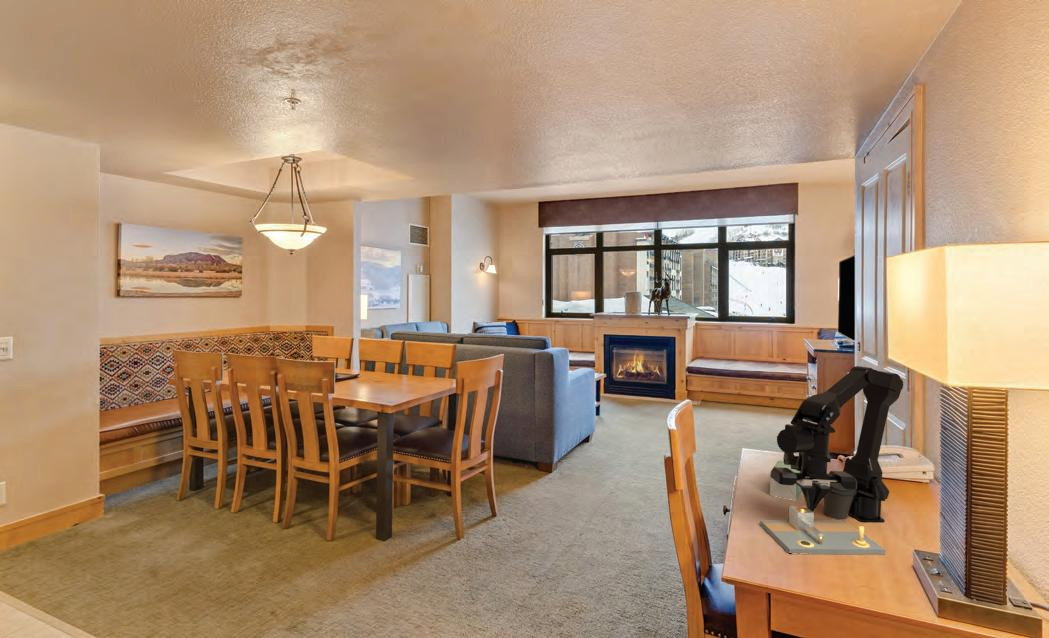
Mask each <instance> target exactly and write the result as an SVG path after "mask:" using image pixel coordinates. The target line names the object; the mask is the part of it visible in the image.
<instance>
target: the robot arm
mask: <svg viewBox="0 0 1049 638" xmlns="http://www.w3.org/2000/svg"><path fill="white" fill-rule="evenodd" d="M903 388H904V381H903V379H902V378H901V376H900V374H898V373H896V372H895V373H894V372H888V371H882V370H876V369H874V368H873V367H868V366H867V367H866V366H862V365H861V366H860V365H856V366H853V367H851V369H850V371H849V372H848V373H847V374H845V375H844V376H843V377H842V378H840V379H839V380H838V381H836V383H834V384H833V385H832V386H830V387H829V388H828V389H826V391H823V392H822V393H817V394H813V395H811V396H809V397H808V398H805V399H804V400H803V401H802V402H801V403H800V406H798V407H799V408H798V409H797V410H796V412H795V414H794V416H793V417H792V419H791V421H790V423H789V424H787V423H786V424H785V425H784V429H782V430H780V431H779V432H778V434H777V436H776V443H777V446H778V447H779V449H780V450H781V451H782V452H783V457H782V458H783V459H782V461H784V464H785V465H791V469H796V470H797V471H800V473H794V472H793V471H791V470H790V469H788V468H781V467H774V466H773V467H774V468H773V467H772V469H771V470H770V472H771V478H772V479H774V480H775V481H776V482H778V483H779V484H782V485H794V484H797V485H798V486H799V487H800V488H801V492H802V494H803V497H804V502H805V506H806V507H807V508H808V509H810V510H811V511H812V512H814V513H815V511H816V510H817V507H818V505H819V504H820V503H821V502H822V501H823V500H824V497H825V495H826V494H827V493H828V492H829V491H833V489H832V488H831V487H830V483H841V486H842V487H843V488H845V489H856V491H857V493H856V495H854V496H853V500H852V503H851V506H850V509H849V513H848V515H851V516H852V517H853V518H855V519H856V520H858V521H859V522H863V523H867V522H869V523H870V522H872V523H876V522H877V523H880V522H881V523H884V522H885V521H886V520H885V519H884V518H883V517H881V516H882V513H881V512H882V502H886V500H887V499H888V497H889V494H890V490H889V488H888V487H887V486H886V485H885V483H884V481H883V480H882V479H883V470H882V467H881V465H880V463H879V456H880V450H881V447H882V441H883V438H884V433H885V428H886V423H887V419H888V414H889V409H890V407H891V406H892V405H893V404H894V403H895V402H896V401H897V400H898V399H899V398H900V396H901V392H902V390H903ZM861 391H862V393H863V395H864V397H865V401H866V406H865V410H864V416H863V421H862V425H861V429H860V434H859V438H858V443H857V447H856V452H855V454H854V455H853V456H852V457H851V458H850V459H849V458H845V459H846V460H844V466H843V469H842V470H840V471H839V470H830V471H829V472H828V463H831V461H832V460H831V457H829V446H830V445H829V444H830V434H834V433H836V429H835V428H834V427H832V425H833V424H834V423H835V422H836V420H837V419H838V418H839V417H840V415H841V408H843V406H844V405H845V404H847V403H848V402H850V400H851V399H852V398H853V397H855V396H857V394H858V393H860V392H861ZM797 453H798V455H795V454H797Z"/></svg>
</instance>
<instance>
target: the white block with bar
mask: <svg viewBox="0 0 1049 638" xmlns="http://www.w3.org/2000/svg"><path fill="white" fill-rule="evenodd" d="M788 511H789V513H788V520H789V524H790V525H791V526H792V527H794V528H795V529H796V530H797V531H812V532H813V533H814V534H815V535H816V536H818V542H820V543H822V539H823V533H822V532H821V531H820V530H818V529H817V528H816V527H815V526H813V524H814V521H815V520H814V519H815V516H814V515H815V511H814V512H812V511H811V510H810V509H808V508H807V505H789V508H788Z"/></svg>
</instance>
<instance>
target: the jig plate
mask: <svg viewBox="0 0 1049 638" xmlns="http://www.w3.org/2000/svg"><path fill="white" fill-rule="evenodd" d="M759 525H760V527H761V528H763V530H765V532H766V533H767V534H768V535H770V537H772V539H773V540H775V541H776V543H778V545H780V546H781V547H782V548H783V550H785V551H786V552H787V553H788V554H789V553H811V554H810V555H869V556H870V555H872V556H873V555H878V556H879V555H880V556H881V555H885V554H886V549H885V548H884V547H882V546H881V545H880V544H878V543H877V542H875V541H874V540H872V539H871V538H870V537H868V536H867V535H865V526H863V525H858V528H856V527H855V526H853V525H852V524H851V523H849V522H847V521H846V520H814V524H813V526H815V527H816V528H817V529H818V530H820V531H821V532H822V533H823V539H822V543H820V542H818V536H816V535H815V534H814V533H813V532H812V531H797V530H796V529H795V528H794V527H792V526H791V525H790V524H789V519H788V520H779V519H778V520H776V519H775V520H771V519H768V520H765V519H762V520H761V519H760V520H759Z"/></svg>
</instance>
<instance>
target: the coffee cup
mask: <svg viewBox="0 0 1049 638" xmlns="http://www.w3.org/2000/svg"><path fill="white" fill-rule="evenodd" d="M830 487H831V488H832V489H833V491H829V492H828V493H827V494H826V495H825V497H824V498H823V514H824V515H825V516H826V517H828V518H830V517H831V518H830V519H833V518H834V519H835V520H838V521H844V520H846V519H847V518H848V515H849V509H850V506H851V503H852V500H853V496H854V495H856V493H857V491H856V489H845V488H843V487H842V486H841V483H830Z"/></svg>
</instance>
